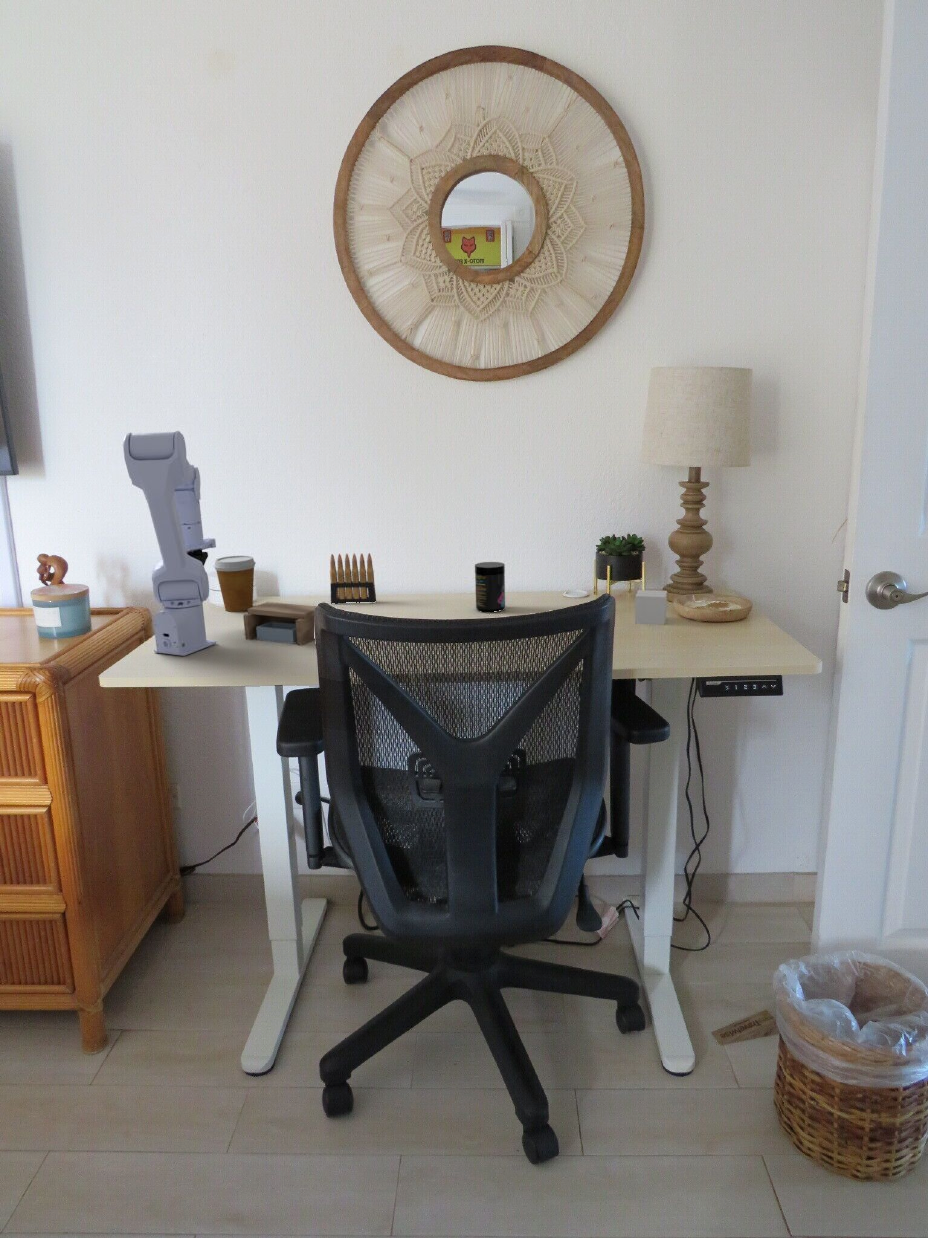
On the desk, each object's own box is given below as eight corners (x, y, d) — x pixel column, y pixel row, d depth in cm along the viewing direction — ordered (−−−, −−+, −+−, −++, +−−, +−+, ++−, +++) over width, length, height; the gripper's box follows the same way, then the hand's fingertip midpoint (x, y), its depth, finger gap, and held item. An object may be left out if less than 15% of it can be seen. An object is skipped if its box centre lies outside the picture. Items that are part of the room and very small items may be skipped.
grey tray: (293, 645, 173) (292, 630, 172) (257, 641, 176) (256, 626, 176) (308, 638, 177) (307, 624, 176) (272, 634, 181) (271, 621, 180)
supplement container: (497, 614, 190) (496, 568, 188) (470, 611, 194) (469, 566, 191) (510, 607, 196) (509, 562, 194) (484, 605, 199) (483, 561, 197)
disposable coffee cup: (265, 604, 207) (260, 554, 204) (251, 613, 198) (247, 562, 195) (226, 604, 208) (222, 555, 205) (211, 613, 199) (206, 562, 196)
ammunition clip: (330, 604, 205) (327, 554, 202) (332, 602, 207) (328, 553, 204) (375, 603, 205) (372, 553, 202) (376, 601, 206) (373, 552, 203)
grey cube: (664, 625, 178) (665, 597, 176) (634, 624, 180) (635, 596, 178) (666, 618, 183) (667, 590, 182) (637, 616, 185) (638, 589, 184)
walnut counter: (301, 645, 171) (299, 616, 169) (245, 638, 177) (242, 610, 175) (324, 635, 178) (322, 606, 176) (269, 629, 184) (267, 601, 182)
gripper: (180, 528, 172) (187, 594, 175) (224, 518, 185) (230, 580, 188) (151, 527, 175) (159, 593, 178) (197, 517, 188) (204, 578, 191)
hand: (194, 586), depth 183 cm, fingers closed
